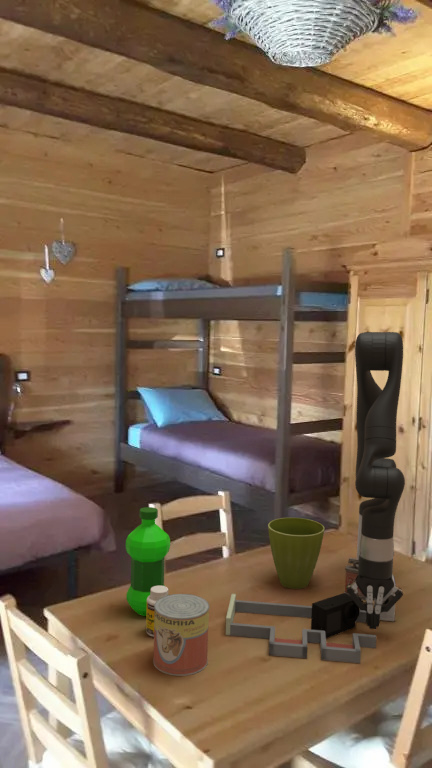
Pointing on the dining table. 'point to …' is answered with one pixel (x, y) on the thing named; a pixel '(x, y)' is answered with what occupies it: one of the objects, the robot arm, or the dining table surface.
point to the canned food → (181, 634)
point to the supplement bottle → (155, 595)
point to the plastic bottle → (146, 559)
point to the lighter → (353, 576)
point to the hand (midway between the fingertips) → (372, 627)
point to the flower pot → (295, 549)
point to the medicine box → (391, 613)
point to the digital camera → (334, 614)
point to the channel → (313, 636)
